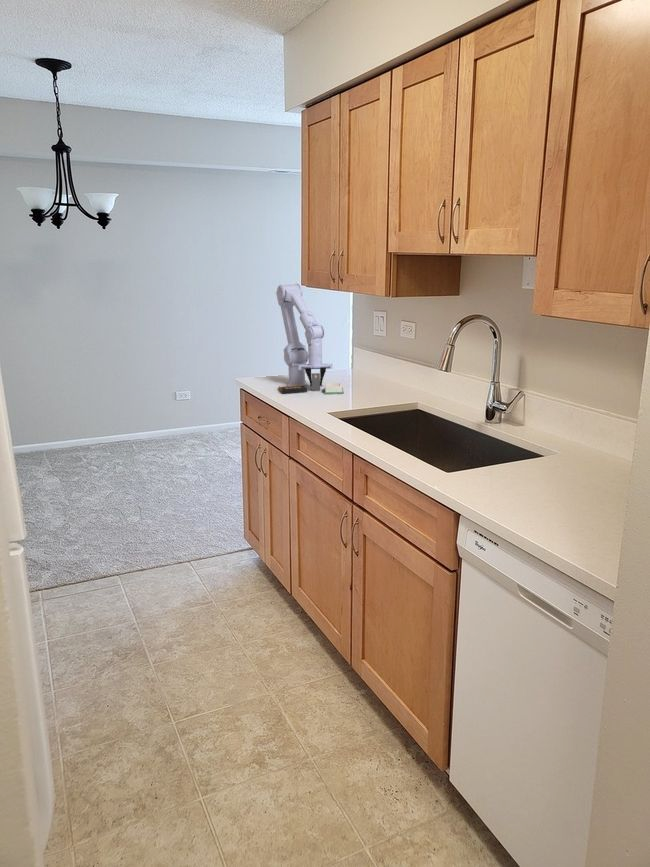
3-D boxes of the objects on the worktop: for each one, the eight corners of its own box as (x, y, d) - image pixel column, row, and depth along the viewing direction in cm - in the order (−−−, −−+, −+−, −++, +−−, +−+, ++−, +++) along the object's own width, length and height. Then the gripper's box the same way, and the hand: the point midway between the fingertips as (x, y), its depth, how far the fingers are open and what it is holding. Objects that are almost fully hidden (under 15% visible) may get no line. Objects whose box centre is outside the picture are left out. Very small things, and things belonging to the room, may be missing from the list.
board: (324, 389, 285) (324, 382, 284) (342, 388, 285) (342, 382, 284) (324, 394, 275) (324, 387, 274) (343, 393, 275) (343, 386, 274)
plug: (312, 389, 286) (311, 373, 284) (320, 389, 286) (319, 373, 284) (312, 391, 282) (311, 375, 280) (320, 390, 282) (319, 374, 280)
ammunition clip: (307, 391, 280) (300, 387, 292) (307, 387, 280) (300, 383, 291) (282, 393, 277) (276, 389, 289) (282, 389, 277) (276, 385, 288)
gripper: (297, 356, 276) (298, 388, 279) (332, 355, 276) (333, 387, 279) (298, 353, 283) (299, 384, 286) (332, 352, 283) (332, 383, 286)
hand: (316, 385), depth 283 cm, fingers closed on plug, 3 cm apart
